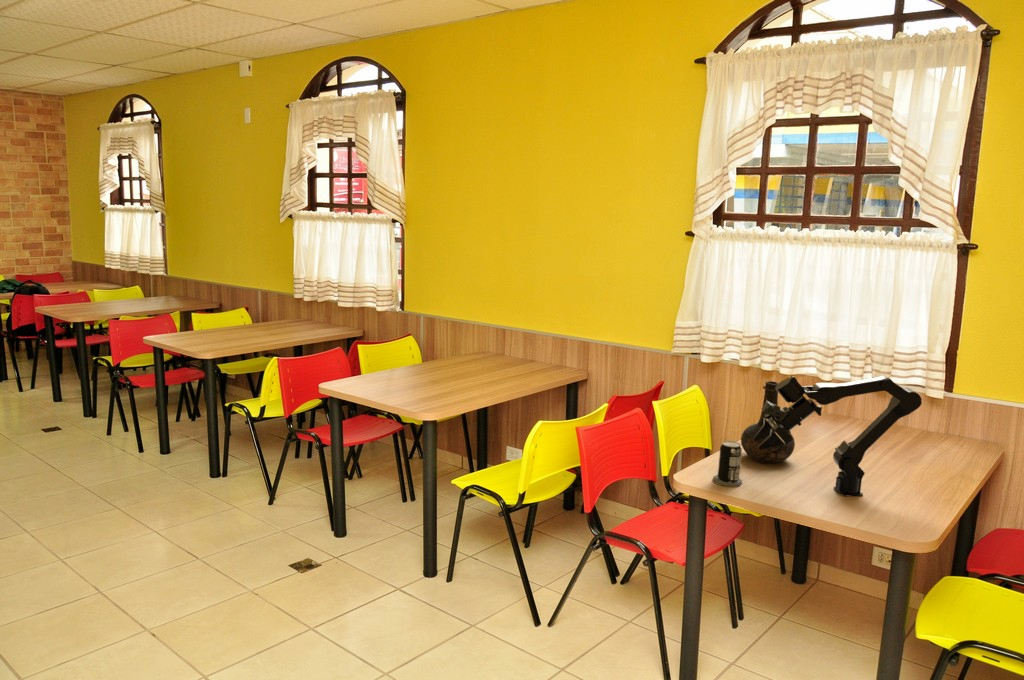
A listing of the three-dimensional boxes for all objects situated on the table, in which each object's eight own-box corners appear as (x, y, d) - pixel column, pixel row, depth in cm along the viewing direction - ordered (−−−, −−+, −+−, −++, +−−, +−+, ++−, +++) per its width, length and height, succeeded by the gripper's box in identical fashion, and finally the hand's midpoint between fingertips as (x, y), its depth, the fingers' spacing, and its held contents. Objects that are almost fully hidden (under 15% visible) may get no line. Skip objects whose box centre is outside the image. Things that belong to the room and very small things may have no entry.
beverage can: (719, 474, 252) (722, 439, 249) (740, 478, 249) (743, 442, 247) (715, 480, 246) (719, 444, 244) (737, 484, 243) (740, 448, 241)
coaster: (735, 477, 252) (735, 474, 252) (746, 487, 244) (746, 484, 243) (708, 476, 251) (708, 474, 251) (718, 486, 243) (719, 484, 242)
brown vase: (801, 460, 272) (809, 383, 267) (777, 471, 260) (786, 390, 255) (754, 448, 284) (762, 374, 280) (730, 457, 272) (737, 380, 267)
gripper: (774, 387, 250) (735, 417, 253) (785, 401, 231) (744, 433, 235) (796, 412, 250) (758, 442, 253) (810, 428, 232) (768, 460, 235)
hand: (756, 444), depth 244 cm, fingers open, 9 cm apart
